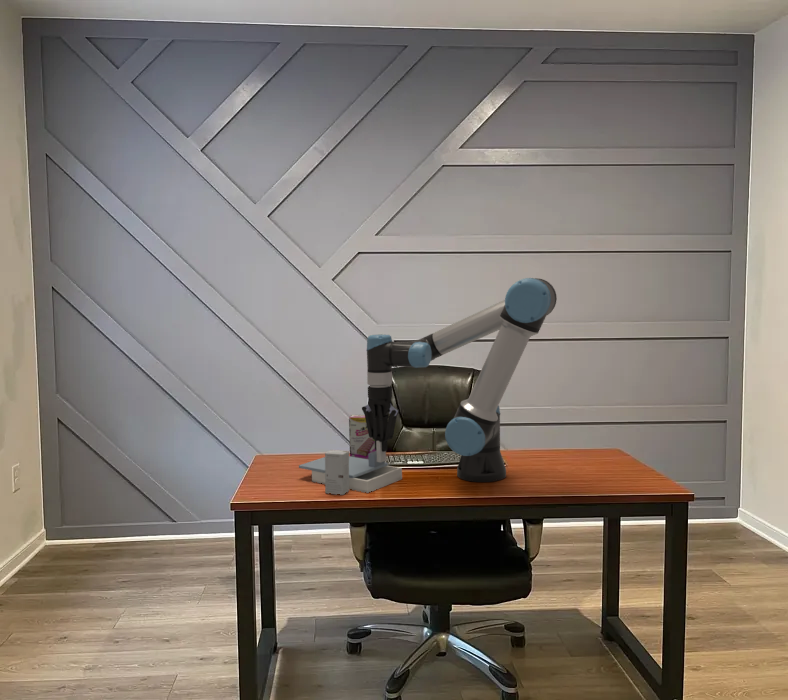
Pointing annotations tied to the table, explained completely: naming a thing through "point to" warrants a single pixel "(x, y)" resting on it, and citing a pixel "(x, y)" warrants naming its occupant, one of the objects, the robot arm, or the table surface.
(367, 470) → the lid
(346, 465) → the skincare box
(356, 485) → the white shallow tray
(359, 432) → the candy bar box
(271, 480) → the table surface
